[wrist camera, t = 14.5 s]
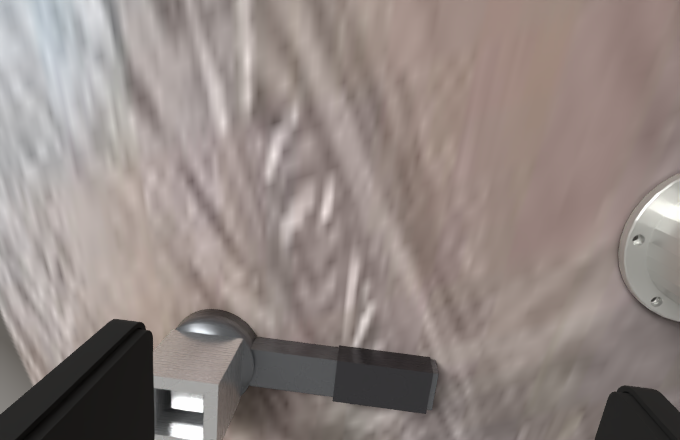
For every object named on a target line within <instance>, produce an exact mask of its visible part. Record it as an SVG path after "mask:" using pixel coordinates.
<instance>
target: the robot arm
mask: <svg viewBox="0 0 680 440" xmlns="http://www.w3.org/2000/svg"><path fill="white" fill-rule="evenodd" d="M634 236H635V237H634ZM618 257H619V268H620V271H621V275H622V278H623V281H624V282H625V284H626V286H627V288H628V289H629V291H630V292H631V293H632V294H633V296H634V297H635V298H636V299H637V300H638V301H639V302H640V303H642V304H643V305H644V306H646V307H647V308H648V309H650V310H651V311H653V312H655V313H656V314H658V315H660V316H662V317H664V318H667V319H670V320H674V321H677V322H680V173H678V174H676V175H674V176H672V177H670V178H669V179H667V180H666V181H664V182H662V183H661V184H659V185H658V186H656V187H655V188H654V189H653V190H652V191H651V192H650V193H648V194H647V195H646V196H645V197H644V198H643V199H642V200H641V202H640V203H639V204H638V205H637V206H636V208H635V209H634V210H633V212H632V214H631V215H630V217H629V219H628V221H627V222H626V224H625V227H624V230H623V232H622V235H621V238H620V244H619V251H618ZM154 438H155V426H154V375H153V336H152V333H151V331H148V330H146V328H145V325H144V324H143V323H142V322H135V321H127V320H119V319H113V320H111V321H110V322H109V323H107V324H106V325H105V326H104V327H103V328H101V329H100V330H99V331H98V332H97V333H96V334H94V335H93V336H92V337H91V338H90V339H89V340H87V341H86V342H85V343H84V344H83V345H82V346H80V347H79V348H78V349H77V350H76V351H74V352H73V353H72V354H71V355H70V356H69V357H67V358H66V359H65V360H64V361H63V362H62V363H60V364H59V365H58V366H57V367H56V368H54V369H53V370H52V371H51V372H50V373H49V374H47V375H46V376H45V377H44V378H43V379H42V380H40V381H39V382H38V383H37V384H36V385H34V386H33V387H32V388H31V389H30V390H29V391H28V392H26V393H25V394H24V395H23V396H22V397H20V398H19V399H18V400H17V401H16V402H15V403H13V404H12V405H11V406H10V407H9V408H7V409H6V410H5V411H4V412H3V413H2V414H0V440H154ZM595 440H680V412H679V411H678V410H677V409H676V408H675V407H674V406H673V405H672V404H671V403H670V402H669V401H668V400H667V399H666V398H665V397H664V396H663V395H662V394H661V393H660V392H659V391H657V390H654V389H648V388H641V387H633V386H621V387H620V388H619V389H618V390H617V392H612V393H611V394H610V395H609V397H608V400H607V403H606V406H605V409H604V412H603V415H602V418H601V421H600V425H599V428H598V431H597V434H596V437H595Z"/></svg>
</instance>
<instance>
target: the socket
mask: <svg viewBox="0 0 680 440" xmlns="http://www.w3.org/2000/svg"><path fill="white" fill-rule="evenodd" d="M242 350H243V339H241V338H234V337H226V336H219V335H211V334H204V333H196V332H189V331H181V330H174V329H172V330H171V331H170V333H169V334H168V335H167V336H166V337H165V338H164V340H163V341H162V342H161V343H160V344H159V345H158V346H157V348H156V349H155V350H154V351H153V375H154V426H155V438H154V440H223V438H224V435H225V433H226V431H227V428H228V426H229V424H230V422H231V419H232V417H233V415H234V412H235V410H236V408H237V406H238V403H239V401H240V391H241V371H242ZM171 390H173V391H180V392H187V393H194V394H202V395H204V412H196V411H189V410H181V409H174V408H171Z"/></svg>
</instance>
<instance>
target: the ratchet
mask: <svg viewBox="0 0 680 440" xmlns="http://www.w3.org/2000/svg"><path fill="white" fill-rule="evenodd" d="M175 330H181V331H189V332H196V333H204V334H211V335H219V336H226V337H234V338H241V339H243V350H242V371H241V391H240V396H241V395H242V394H243V393H244V392H245V391H246V389H247V388H248V386H257V387H264V388H271V389H279V390H286V391H294V392H301V393H308V394H316V395H323V396H331V397H333V401H335V402H343V403H350V404H358V405H365V406H372V407H380V408H387V409H394V410H402V411H409V412H417V413H424V414H426V411H427V410H432V406H433V401H434V395H435V390H436V385H437V380H438V375H439V374H438V369H437V365H436V361H435V360H431V359H430V357H423V356H416V355H408V354H400V353H392V352H385V351H377V350H369V349H362V348H354V347H346V346H339V347H331V346H323V345H316V344H308V343H300V342H293V341H285V340H277V339H270V338H262V337H256V335H255V333H254V332H253V330H252V329H251V328H250V326H249V325H248V324H247V323H246V322H245V321H243V320H242V319H241V318H239V317H237V316H236V315H234V314H232V313H229V312H226V311H223V310H217V309H206V310H200V311H197V312H195V313H193V314H190V315H189V316H187V317H186V318H185V319H184V320H183V321H182V322H181V323H180V324H179V325H178V327H177V328H176V329H175ZM171 408H174V409H181V410H189V411H196V412H204V395H202V394H194V393H187V392H180V391H173V390H171Z"/></svg>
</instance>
